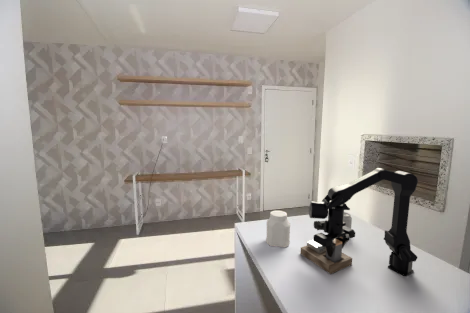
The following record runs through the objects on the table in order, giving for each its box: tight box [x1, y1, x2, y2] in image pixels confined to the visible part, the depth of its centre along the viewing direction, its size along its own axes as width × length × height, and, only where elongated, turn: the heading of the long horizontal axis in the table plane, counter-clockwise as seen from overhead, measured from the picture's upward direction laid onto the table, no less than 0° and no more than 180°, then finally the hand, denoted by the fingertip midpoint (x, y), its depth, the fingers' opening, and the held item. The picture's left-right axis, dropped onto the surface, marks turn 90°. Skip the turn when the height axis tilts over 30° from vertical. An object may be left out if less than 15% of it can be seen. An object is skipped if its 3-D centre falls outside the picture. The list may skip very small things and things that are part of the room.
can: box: [343, 211, 353, 238], centre depth 115 cm, size 8×8×12 cm
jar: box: [265, 210, 291, 248], centre depth 107 cm, size 12×10×15 cm
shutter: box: [306, 239, 326, 254], centre depth 96 cm, size 7×7×3 cm
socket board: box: [300, 245, 353, 275], centre depth 93 cm, size 16×13×3 cm
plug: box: [326, 238, 343, 263], centre depth 89 cm, size 4×4×9 cm
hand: (333, 255), depth 90 cm, fingers open, 4 cm apart
